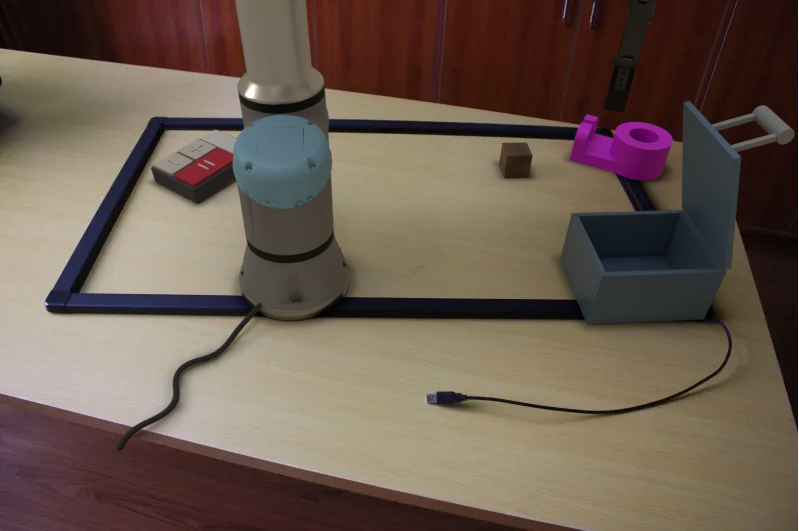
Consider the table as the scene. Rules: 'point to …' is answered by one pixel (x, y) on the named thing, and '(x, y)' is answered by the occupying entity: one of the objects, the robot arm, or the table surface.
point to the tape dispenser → (623, 149)
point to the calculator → (198, 167)
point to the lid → (719, 173)
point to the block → (515, 159)
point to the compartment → (639, 267)
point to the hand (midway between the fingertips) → (618, 89)
